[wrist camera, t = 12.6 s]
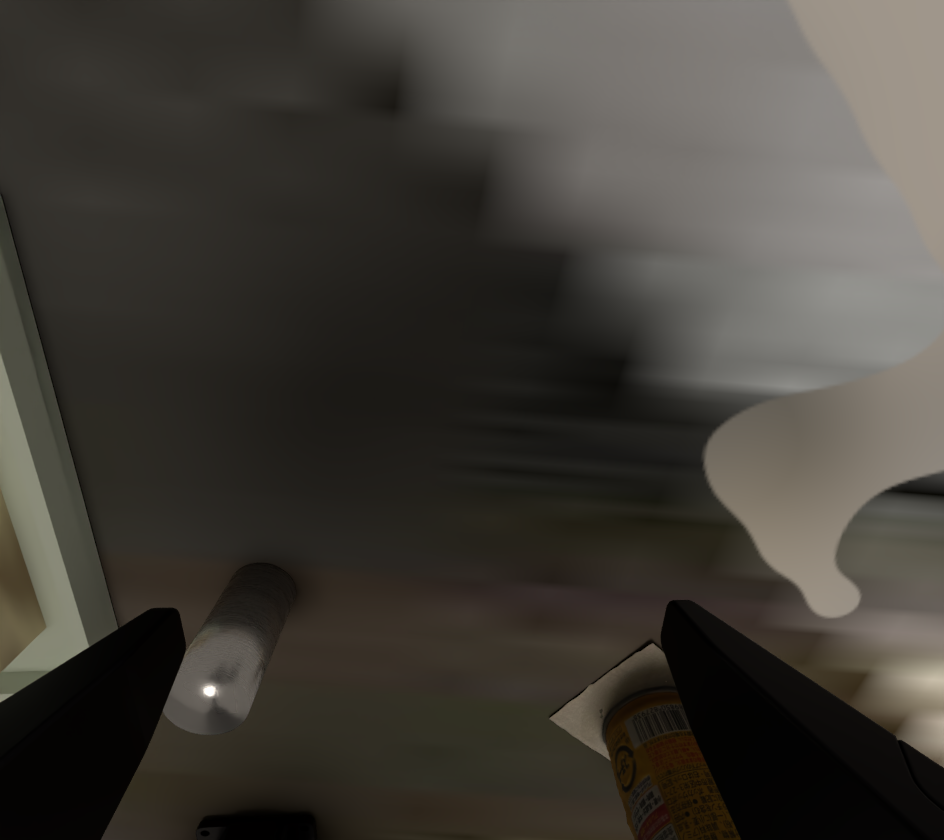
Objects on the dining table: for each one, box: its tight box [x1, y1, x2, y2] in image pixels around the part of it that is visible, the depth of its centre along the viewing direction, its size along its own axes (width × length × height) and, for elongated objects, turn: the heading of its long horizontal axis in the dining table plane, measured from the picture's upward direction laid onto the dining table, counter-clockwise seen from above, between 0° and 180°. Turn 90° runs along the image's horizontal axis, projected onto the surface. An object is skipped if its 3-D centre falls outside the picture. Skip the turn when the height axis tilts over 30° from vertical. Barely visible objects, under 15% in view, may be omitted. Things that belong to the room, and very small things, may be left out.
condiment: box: [549, 643, 741, 840], centre depth 22 cm, size 7×8×12 cm
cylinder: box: [163, 563, 296, 735], centre depth 20 cm, size 3×3×6 cm
